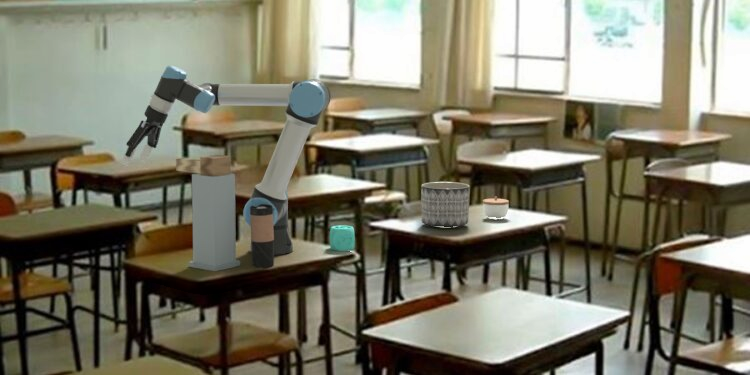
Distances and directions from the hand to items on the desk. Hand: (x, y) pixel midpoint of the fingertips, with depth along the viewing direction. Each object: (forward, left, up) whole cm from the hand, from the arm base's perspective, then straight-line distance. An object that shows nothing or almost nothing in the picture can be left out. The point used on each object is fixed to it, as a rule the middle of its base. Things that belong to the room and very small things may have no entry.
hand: (133, 163), depth 425 cm
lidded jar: (-153, -21, -32) cm, 158 cm away
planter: (-126, -13, -32) cm, 131 cm away
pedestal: (-21, +28, -32) cm, 48 cm away
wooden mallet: (-18, +24, -1) cm, 30 cm away
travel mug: (-36, +33, -32) cm, 59 cm away
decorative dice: (-71, +16, -32) cm, 80 cm away
